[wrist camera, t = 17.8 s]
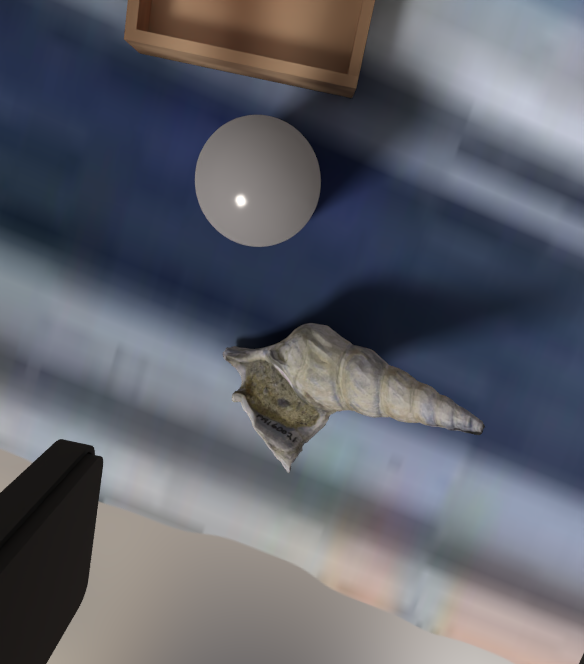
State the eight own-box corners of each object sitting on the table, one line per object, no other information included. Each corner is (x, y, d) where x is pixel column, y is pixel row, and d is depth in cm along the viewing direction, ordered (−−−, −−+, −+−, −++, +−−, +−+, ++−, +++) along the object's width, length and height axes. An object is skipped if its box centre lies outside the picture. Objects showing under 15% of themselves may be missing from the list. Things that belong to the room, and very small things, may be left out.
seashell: (246, 285, 38) (225, 314, 28) (449, 358, 39) (496, 409, 29) (208, 399, 40) (176, 461, 31) (400, 464, 41) (427, 544, 32)
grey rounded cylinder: (327, 147, 35) (333, 129, 26) (307, 244, 37) (306, 257, 28) (231, 127, 35) (205, 102, 26) (215, 226, 37) (186, 233, 28)
